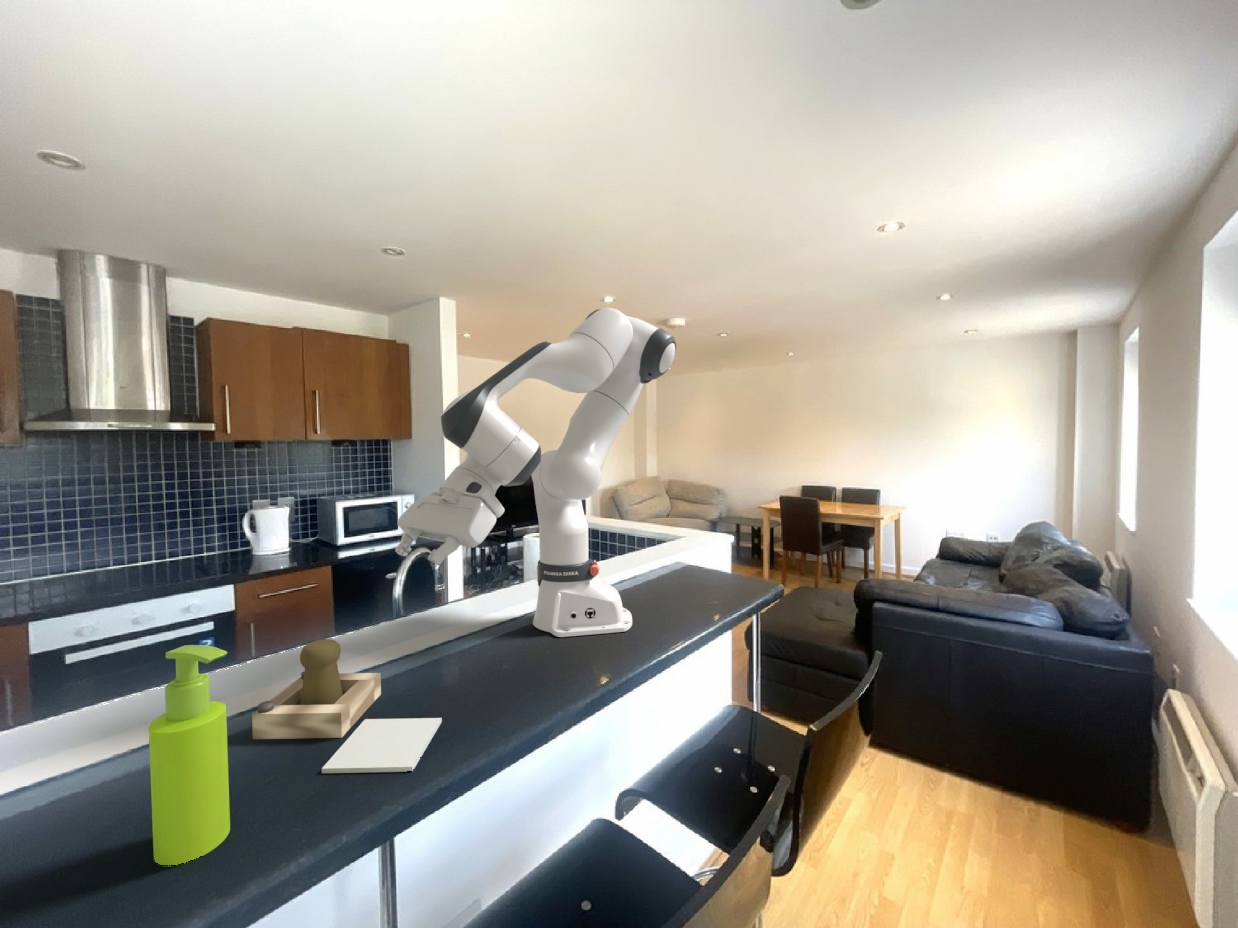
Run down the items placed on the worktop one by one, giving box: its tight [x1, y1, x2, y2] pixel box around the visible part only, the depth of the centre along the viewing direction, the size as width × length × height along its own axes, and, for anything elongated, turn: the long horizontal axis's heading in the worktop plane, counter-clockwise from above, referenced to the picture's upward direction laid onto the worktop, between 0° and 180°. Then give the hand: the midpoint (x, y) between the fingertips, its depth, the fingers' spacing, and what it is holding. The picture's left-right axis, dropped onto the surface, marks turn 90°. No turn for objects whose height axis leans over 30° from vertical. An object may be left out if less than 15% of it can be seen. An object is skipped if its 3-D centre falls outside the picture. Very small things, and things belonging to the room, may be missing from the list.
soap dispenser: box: [148, 644, 231, 867], centre depth 50 cm, size 6×7×20 cm
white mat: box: [321, 717, 443, 774], centre depth 67 cm, size 11×11×1 cm
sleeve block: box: [251, 670, 382, 740], centre depth 74 cm, size 12×12×4 cm
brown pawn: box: [299, 638, 343, 705], centre depth 74 cm, size 6×6×11 cm
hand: (415, 557), depth 84 cm, fingers open, 8 cm apart
